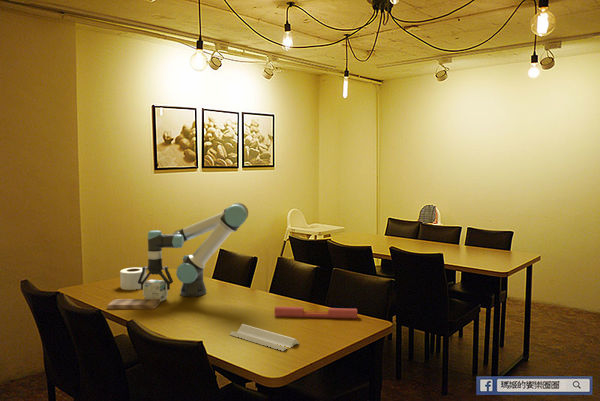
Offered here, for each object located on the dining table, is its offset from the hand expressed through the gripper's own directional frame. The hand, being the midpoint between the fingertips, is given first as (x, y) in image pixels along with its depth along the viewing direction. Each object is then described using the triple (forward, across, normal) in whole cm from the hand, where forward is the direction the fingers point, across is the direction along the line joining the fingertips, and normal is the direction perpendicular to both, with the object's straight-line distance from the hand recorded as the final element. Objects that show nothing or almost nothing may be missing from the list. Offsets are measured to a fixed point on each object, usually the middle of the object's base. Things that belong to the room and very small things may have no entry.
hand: (155, 295), depth 275 cm
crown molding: (+3, -64, +63) cm, 90 cm away
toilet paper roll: (+3, +21, -29) cm, 36 cm away
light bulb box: (+3, 0, 0) cm, 3 cm away
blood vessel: (+3, -89, +32) cm, 95 cm away
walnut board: (+2, +8, +12) cm, 15 cm away
